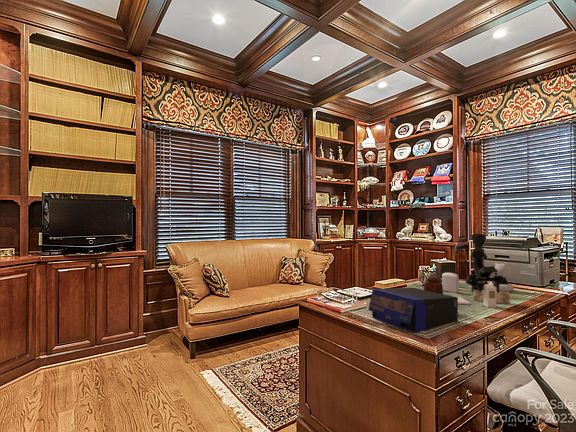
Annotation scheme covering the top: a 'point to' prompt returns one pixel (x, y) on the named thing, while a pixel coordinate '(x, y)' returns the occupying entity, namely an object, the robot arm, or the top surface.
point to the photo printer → (450, 282)
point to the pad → (462, 301)
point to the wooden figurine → (433, 284)
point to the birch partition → (500, 297)
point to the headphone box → (413, 308)
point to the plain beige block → (489, 296)
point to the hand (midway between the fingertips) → (489, 292)
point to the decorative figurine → (504, 271)
